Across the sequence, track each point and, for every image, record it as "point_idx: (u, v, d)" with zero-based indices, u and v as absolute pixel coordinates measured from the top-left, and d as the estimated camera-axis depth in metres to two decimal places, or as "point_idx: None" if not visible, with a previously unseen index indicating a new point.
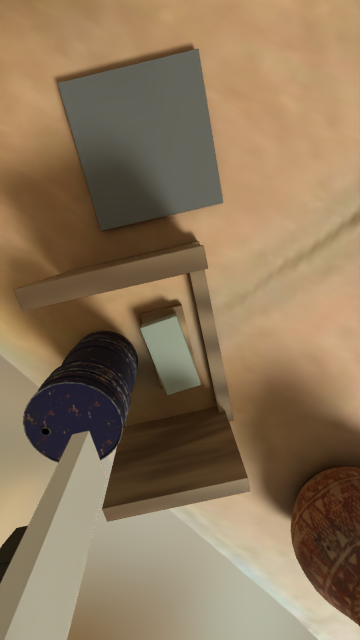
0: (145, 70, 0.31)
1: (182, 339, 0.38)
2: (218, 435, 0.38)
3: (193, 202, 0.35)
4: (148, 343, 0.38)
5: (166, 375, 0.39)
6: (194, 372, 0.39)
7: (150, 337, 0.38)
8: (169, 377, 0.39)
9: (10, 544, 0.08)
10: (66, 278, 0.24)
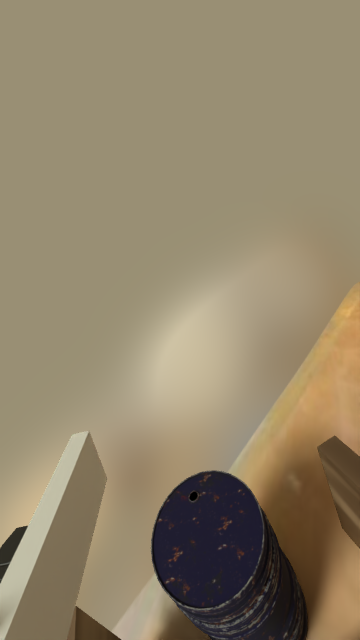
0: None
1: None
2: None
3: None
4: None
5: None
6: None
7: None
8: None
9: (10, 544, 0.08)
10: None
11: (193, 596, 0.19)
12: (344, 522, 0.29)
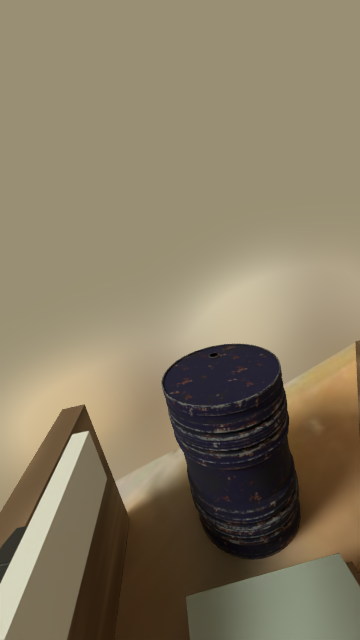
0: None
1: None
2: None
3: None
4: (308, 567, 0.19)
5: (233, 601, 0.18)
6: None
7: (324, 574, 0.18)
8: (229, 608, 0.18)
9: (10, 544, 0.08)
10: None
11: (194, 401, 0.19)
12: None
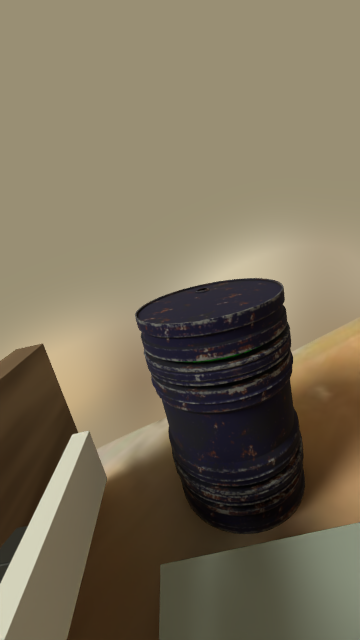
0: None
1: None
2: None
3: None
4: (320, 537, 0.14)
5: (220, 573, 0.14)
6: None
7: (343, 546, 0.14)
8: (214, 581, 0.13)
9: (10, 544, 0.08)
10: None
11: (171, 322, 0.15)
12: None
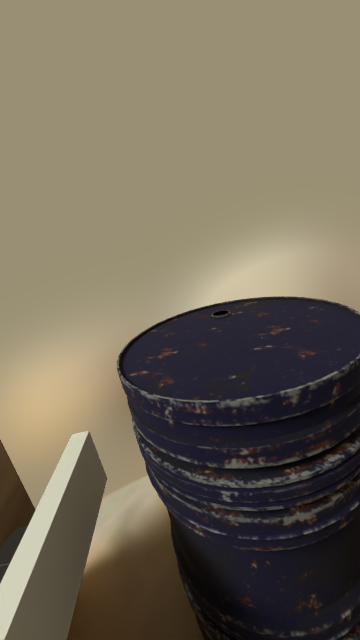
0: None
1: None
2: None
3: None
4: None
5: None
6: None
7: None
8: None
9: (10, 544, 0.08)
10: None
11: (177, 389, 0.08)
12: None
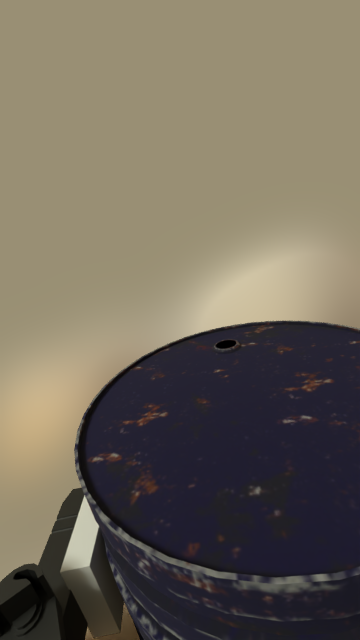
0: None
1: None
2: None
3: None
4: None
5: None
6: None
7: None
8: None
9: (70, 502, 0.09)
10: None
11: (161, 514, 0.05)
12: None
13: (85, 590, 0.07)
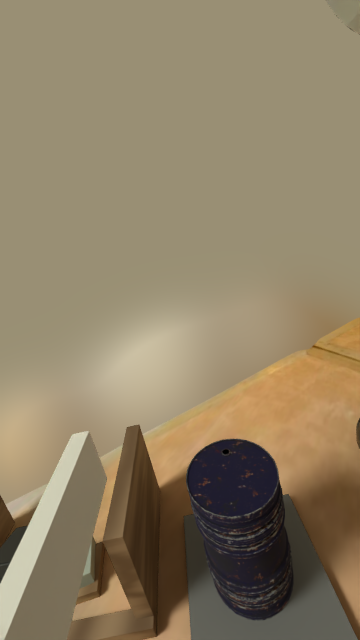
0: (318, 571, 0.32)
1: None
2: None
3: (197, 626, 0.29)
4: None
5: None
6: None
7: None
8: None
9: (10, 545, 0.08)
10: (135, 446, 0.39)
11: (213, 507, 0.26)
12: None
13: None
